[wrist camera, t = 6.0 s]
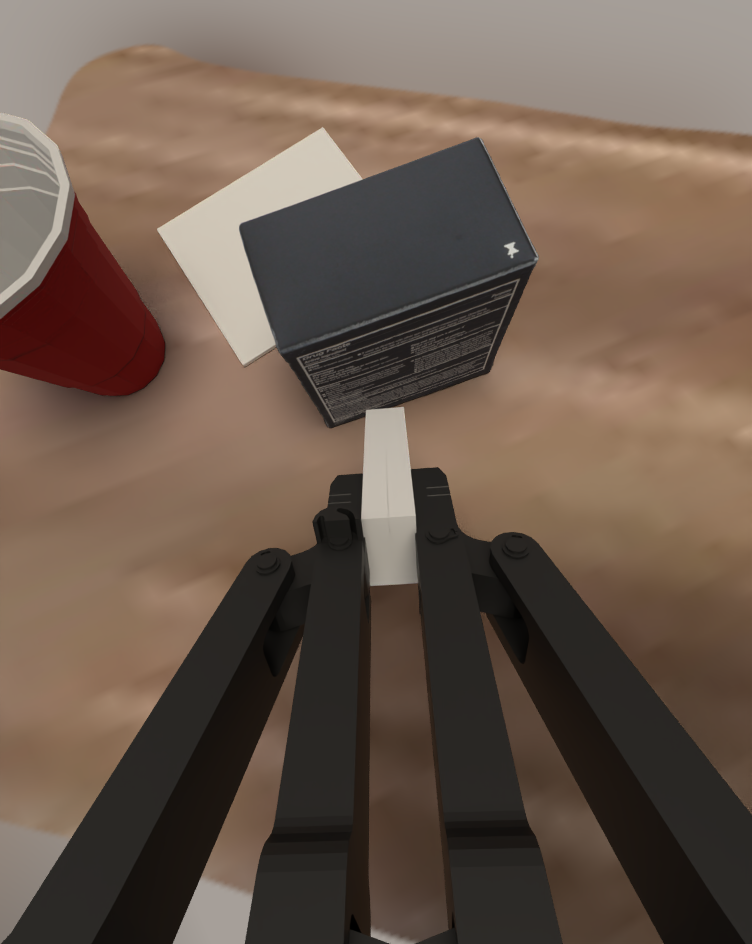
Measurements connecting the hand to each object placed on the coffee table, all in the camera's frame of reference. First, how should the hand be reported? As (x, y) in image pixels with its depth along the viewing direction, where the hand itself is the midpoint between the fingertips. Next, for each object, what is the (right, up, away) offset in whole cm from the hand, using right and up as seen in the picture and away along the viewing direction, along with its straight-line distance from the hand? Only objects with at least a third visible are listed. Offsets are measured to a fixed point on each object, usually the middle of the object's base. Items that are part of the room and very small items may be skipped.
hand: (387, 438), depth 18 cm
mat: (-6, +13, +11) cm, 18 cm away
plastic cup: (-17, +6, +10) cm, 21 cm away
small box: (+1, +6, +9) cm, 11 cm away
